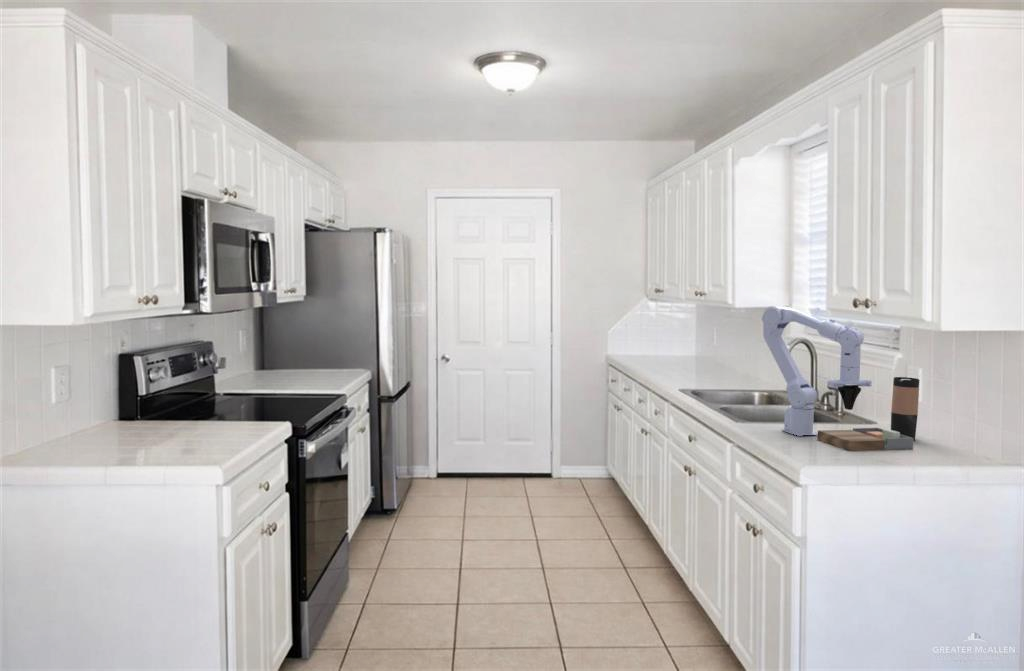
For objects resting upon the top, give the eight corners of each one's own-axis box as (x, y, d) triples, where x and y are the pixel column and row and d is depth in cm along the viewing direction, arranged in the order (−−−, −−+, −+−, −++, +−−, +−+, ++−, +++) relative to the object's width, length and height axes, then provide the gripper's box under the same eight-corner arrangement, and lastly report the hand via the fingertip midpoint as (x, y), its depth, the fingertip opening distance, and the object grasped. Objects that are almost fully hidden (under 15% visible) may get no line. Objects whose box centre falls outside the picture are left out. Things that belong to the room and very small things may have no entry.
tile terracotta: (878, 431, 238) (877, 438, 238) (865, 431, 237) (865, 438, 237) (887, 434, 234) (887, 441, 234) (875, 434, 233) (875, 442, 233)
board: (817, 439, 237) (817, 430, 237) (850, 438, 240) (850, 429, 239) (849, 451, 222) (850, 441, 221) (884, 450, 224) (885, 440, 224)
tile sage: (882, 429, 230) (889, 429, 231) (881, 443, 231) (888, 443, 231) (893, 432, 226) (899, 432, 227) (892, 447, 226) (899, 446, 227)
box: (850, 438, 240) (850, 428, 239) (877, 438, 242) (877, 427, 241) (884, 450, 224) (885, 438, 224) (912, 449, 226) (913, 438, 226)
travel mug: (912, 437, 244) (916, 377, 242) (918, 442, 237) (922, 380, 235) (887, 435, 246) (890, 376, 245) (892, 440, 239) (896, 379, 237)
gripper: (837, 368, 229) (836, 411, 229) (878, 367, 232) (877, 410, 232) (823, 366, 235) (822, 408, 236) (863, 365, 238) (862, 407, 239)
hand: (848, 409), depth 235 cm, fingers closed
